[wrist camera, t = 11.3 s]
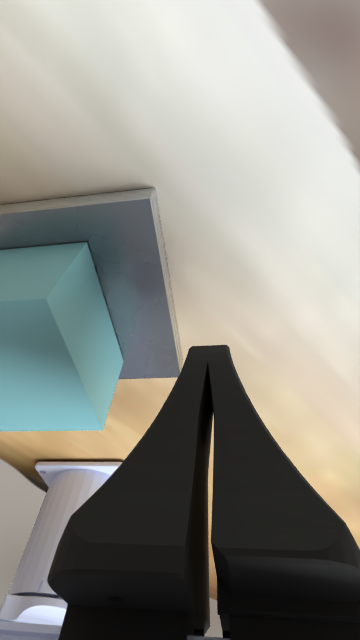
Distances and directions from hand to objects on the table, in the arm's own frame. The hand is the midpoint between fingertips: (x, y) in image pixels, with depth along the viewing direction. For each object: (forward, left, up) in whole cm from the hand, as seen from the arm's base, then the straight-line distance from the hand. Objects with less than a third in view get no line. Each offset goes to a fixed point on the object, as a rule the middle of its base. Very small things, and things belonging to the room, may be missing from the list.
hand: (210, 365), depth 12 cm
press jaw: (0, +8, -4) cm, 9 cm away
